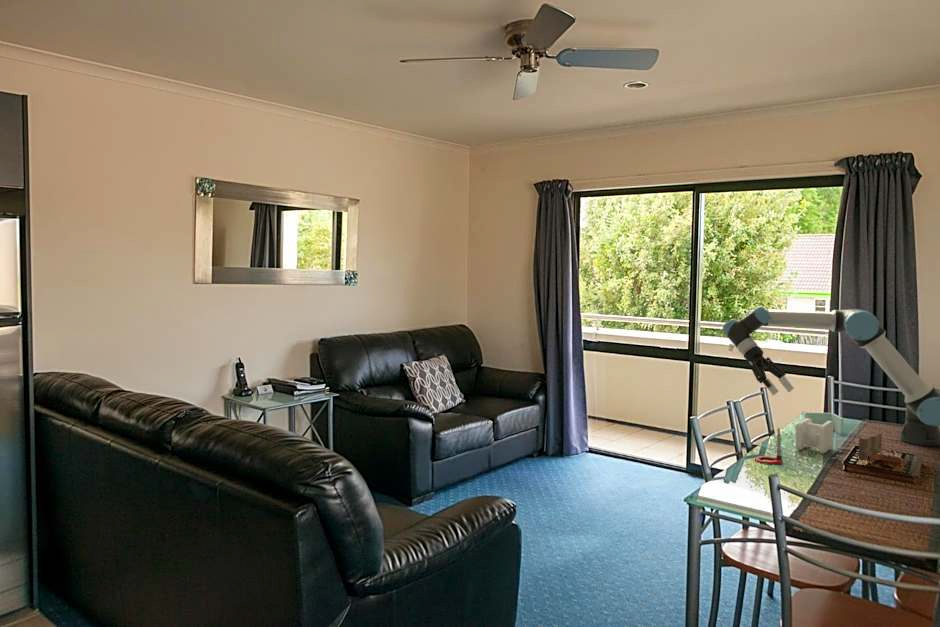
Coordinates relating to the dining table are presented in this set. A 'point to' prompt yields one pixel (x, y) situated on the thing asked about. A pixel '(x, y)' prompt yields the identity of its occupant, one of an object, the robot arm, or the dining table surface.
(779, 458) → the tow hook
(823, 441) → the cable organizer
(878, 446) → the keeper stop
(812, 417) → the l-shaped corner panel
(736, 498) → the dining table surface
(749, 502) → the dining table surface
